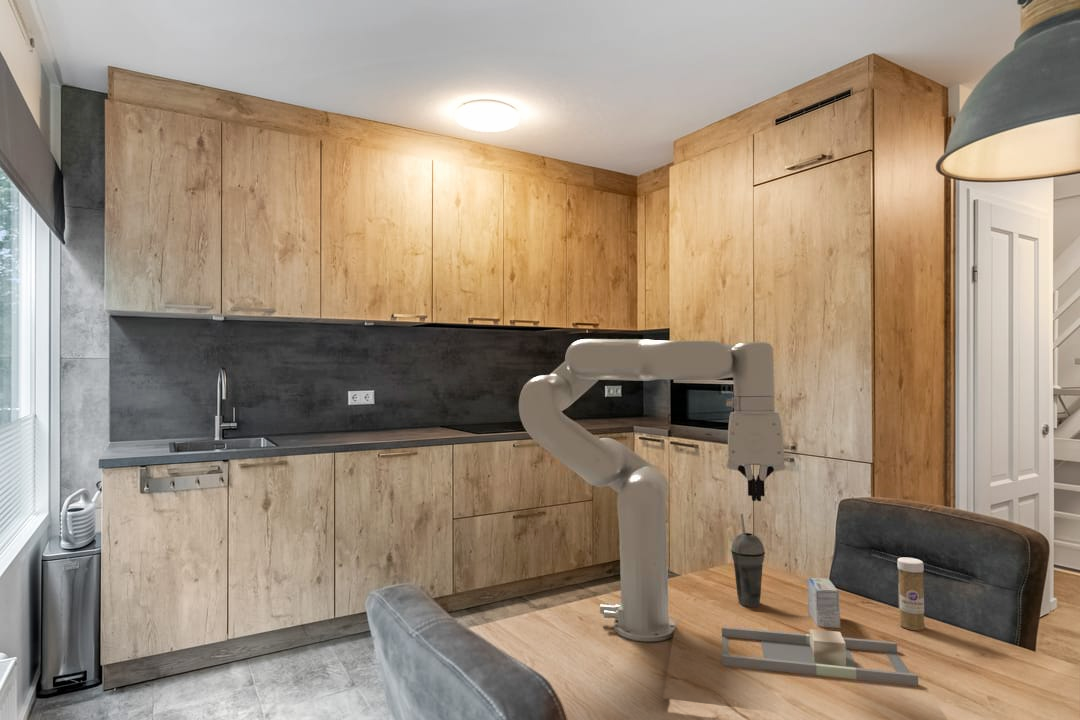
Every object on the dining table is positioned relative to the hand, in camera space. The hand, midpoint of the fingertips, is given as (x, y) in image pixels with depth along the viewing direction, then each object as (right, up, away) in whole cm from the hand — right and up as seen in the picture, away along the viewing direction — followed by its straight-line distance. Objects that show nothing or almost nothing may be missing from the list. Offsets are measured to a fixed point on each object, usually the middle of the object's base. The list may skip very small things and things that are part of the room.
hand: (756, 499), depth 121 cm
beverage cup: (+5, -28, +19) cm, 34 cm away
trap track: (+6, -27, -11) cm, 30 cm away
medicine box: (+16, -27, +5) cm, 32 cm away
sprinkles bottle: (+33, -27, +5) cm, 43 cm away
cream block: (+8, -25, -12) cm, 29 cm away
